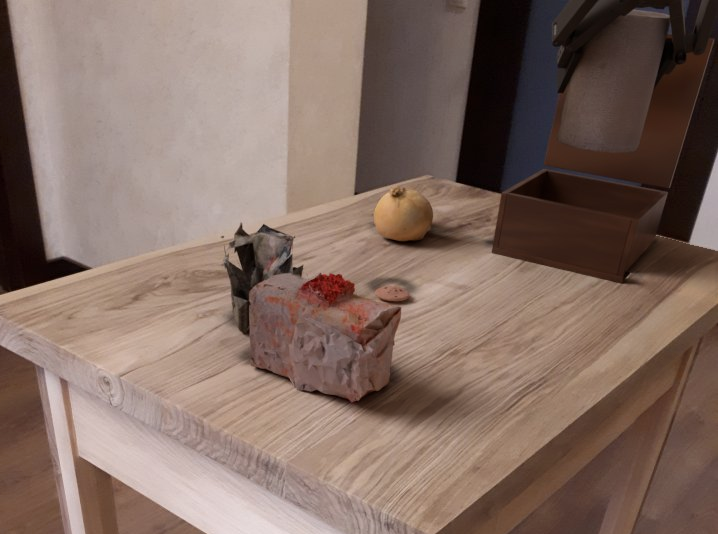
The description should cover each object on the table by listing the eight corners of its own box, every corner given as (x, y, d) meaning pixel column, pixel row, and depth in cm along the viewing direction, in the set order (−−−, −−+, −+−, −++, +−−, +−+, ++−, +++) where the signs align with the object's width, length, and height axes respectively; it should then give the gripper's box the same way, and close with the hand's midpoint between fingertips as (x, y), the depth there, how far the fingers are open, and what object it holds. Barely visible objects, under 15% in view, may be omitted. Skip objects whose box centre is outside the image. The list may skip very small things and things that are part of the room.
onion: (382, 225, 113) (387, 173, 109) (436, 234, 111) (443, 182, 107) (364, 241, 107) (369, 187, 103) (421, 251, 105) (428, 196, 101)
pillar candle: (540, 137, 97) (567, -8, 88) (600, 133, 101) (631, -6, 92) (594, 156, 90) (629, 0, 81) (657, 151, 94) (696, 2, 85)
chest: (621, 283, 100) (638, 220, 95) (491, 252, 107) (501, 192, 102) (651, 249, 112) (668, 191, 107) (532, 223, 118) (543, 168, 114)
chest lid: (713, 38, 97) (714, 39, 98) (574, 23, 104) (576, 23, 105) (668, 188, 107) (669, 188, 107) (543, 165, 113) (545, 165, 114)
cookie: (407, 305, 90) (408, 297, 89) (371, 300, 90) (372, 292, 90) (411, 293, 93) (412, 284, 92) (377, 288, 93) (378, 280, 93)
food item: (405, 384, 74) (416, 282, 69) (361, 418, 69) (370, 311, 63) (285, 344, 80) (287, 247, 74) (236, 373, 74) (234, 270, 68)
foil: (178, 298, 79) (236, 185, 84) (216, 358, 89) (265, 254, 94) (283, 317, 76) (336, 198, 81) (310, 378, 85) (356, 268, 90)
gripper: (571, -52, 71) (510, 108, 94) (812, -36, 72) (695, 119, 94) (570, -124, 73) (510, 51, 95) (808, -107, 73) (693, 62, 96)
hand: (602, 85), depth 95 cm, fingers closed on pillar candle, 9 cm apart
